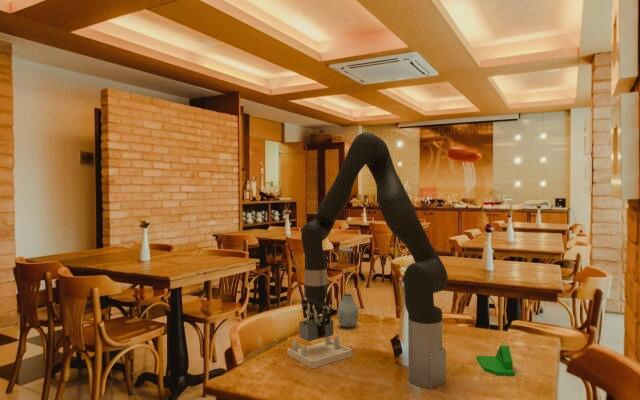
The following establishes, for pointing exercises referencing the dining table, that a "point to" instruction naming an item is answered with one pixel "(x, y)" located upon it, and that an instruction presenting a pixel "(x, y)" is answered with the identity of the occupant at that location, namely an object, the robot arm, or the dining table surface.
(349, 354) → the tray
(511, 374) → the bracket
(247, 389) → the dining table surface
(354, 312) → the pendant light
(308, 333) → the block
